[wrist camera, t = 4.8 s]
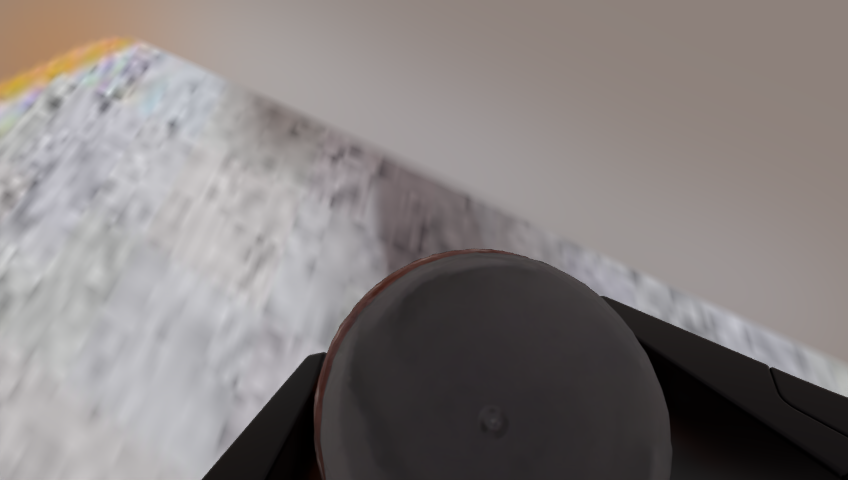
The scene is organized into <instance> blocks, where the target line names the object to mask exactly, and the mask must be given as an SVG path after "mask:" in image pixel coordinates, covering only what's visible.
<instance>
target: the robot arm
mask: <svg viewBox="0 0 848 480" xmlns="http://www.w3.org/2000/svg"><path fill="white" fill-rule="evenodd" d="M600 297H602V298H603V299H604V300H605V301H606V302H607V303H608V304H609V305H610V306H611V307H612V308H613V309H614V310H615V311H616V312H617V313H618V314H619V316H620V317H621V318H622V319H623V320H624V321H625V323H626V324H627V326H628V327H629V328H630V329H631V330H632V331H633V333H634V335H635V337H636V338H637V340H638V342H639V343H640V345H641V346H642V348H643V349H644V351H645V352H646V353H647V355H648V358H649V360H650V362H651V364H652V367H653V369H654V371H655V374H656V376H657V379H658V381H659V383H660V386H661V388H662V391H663V394H664V398H665V402H666V405H667V409H668V412H669V420H670V431H671V445H672V464H671V476H670V480H848V397H845V396H842V395H840V394H837V393H834V392H832V391H829V390H827V389H824V388H822V387H819V386H817V385H814V384H812V383H809V382H807V381H804V380H802V379H800V378H797V377H795V376H792V375H790V374H788V373H785V372H783V371H780V370H778V369H776V368H773V367H771V368H770V369H769V366H768V365H766V364H764V363H761V362H759V361H757V360H754V359H752V358H750V357H747V356H745V355H742V354H740V353H738V352H735V351H733V350H731V349H728V348H726V347H724V346H721V345H719V344H716V343H714V342H712V341H709V340H707V339H705V338H702V337H700V336H698V335H695V334H693V333H691V332H688V331H686V330H683V329H681V328H679V327H676V326H674V325H672V324H669V323H667V322H665V321H662V320H660V319H657V318H655V317H653V316H650V315H648V314H646V313H643V312H641V311H639V310H636V309H634V308H632V307H629V306H627V305H624V304H622V303H620V302H617V301H615V300H613V299H610V298H608V297H605V296H600ZM326 355H327V353H325V352H322V353H317V354H312V355H309V356H307V357H306V358H305V360H304V361H303V362H302V363H301V364H300V365H299V367H298V368H297V369H296V370H295V371H294V372H293V374H292V375H291V376H290V377H289V378H288V379H287V381H286V382H285V383H284V384H283V385H282V386H281V388H280V389H279V390H278V391H277V392H276V393H275V395H274V396H273V397H272V398H271V399H270V400H269V402H268V403H267V404H266V405H265V406H264V407H263V409H262V410H261V411H260V412H259V413H258V414H257V416H256V417H255V418H254V419H253V420H252V421H251V423H250V424H249V425H248V426H247V427H246V428H245V430H244V431H243V432H242V433H241V434H240V435H239V437H238V438H237V439H236V440H235V441H234V442H233V444H232V445H231V446H230V447H229V448H228V449H227V451H226V452H225V453H224V454H223V455H222V456H221V458H220V459H219V460H218V461H217V462H216V463H215V465H214V466H213V467H212V468H211V469H210V470H209V472H208V473H207V474H206V475H205V476H204V477H203V479H202V480H322V478H321V474H320V471H319V466H318V463H317V458H316V452H315V444H314V403H315V394H316V389H317V384H318V379H319V376H320V373H321V370H322V367H323V363H324V360H325V358H326Z"/></svg>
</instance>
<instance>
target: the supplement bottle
mask: <svg viewBox="0 0 848 480" xmlns="http://www.w3.org/2000/svg"><path fill="white" fill-rule="evenodd" d="M314 444H315V452H316V458H317V463H318V466H319V471H320V474H321V478H322V480H670V476H671V464H672V445H671V431H670V420H669V412H668V409H667V405H666V402H665V398H664V394H663V391H662V388H661V386H660V383H659V381H658V379H657V376H656V374H655V371H654V369H653V367H652V364H651V362H650V360H649V358H648V355H647V353H646V352H645V351H644V349H643V348H642V346H641V345H640V343H639V342H638V340H637V338H636V337H635V335H634V333H633V331H632V330H631V329H630V328H629V327H628V326H627V324H626V323H625V321H624V320H623V319H622V318H621V317H620V316H619V314H618V313H617V312H616V311H615V310H614V309H613V308H612V307H611V306H610V305H609V304H608V303H607V302H606V301H605V300H604V299H603V298H602V297H600V296H599V295H598V294H597V293H595V292H594V291H593V290H591V289H590V288H589V287H588V286H586V285H585V284H584V283H582V282H580V281H579V280H577V279H575V278H574V277H572V276H570V275H568V274H566V273H564V272H562V271H560V270H558V269H557V268H555V267H552V266H550V265H548V264H546V263H544V262H541V261H537V260H533V259H530V258H528V257H525V256H520V255H517V254H514V253H510V252H505V251H497V250H492V249H466V250H456V251H449V252H444V253H440V254H433V255H431V256H429V257H427V258H423V259H419V260H417V261H414V262H412V263H411V264H409V265H407V266H405V267H403V268H401V269H399V270H397V271H396V272H394V273H392V274H391V275H389V276H388V277H386V278H385V279H384V280H382V281H381V282H380V283H378V284H376V285H375V286H374V287H373V288H372V289H371V290H370V291H369V292H368V293H367V294H365V296H364V297H363V298H362V299H361V300H360V301H359V302H358V303H357V304H356V306H355V307H354V308H353V309H352V311H351V313H350V314H349V315H348V316H347V318H346V319H345V320H344V321H343V322H342V324H341V325H340V327H339V329H338V331H337V333H336V335H335V337H334V338H333V340H332V342H331V345H330V347H329V350H328V352H327V355H326V358H325V360H324V363H323V367H322V370H321V373H320V376H319V379H318V384H317V389H316V394H315V403H314Z"/></svg>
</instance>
